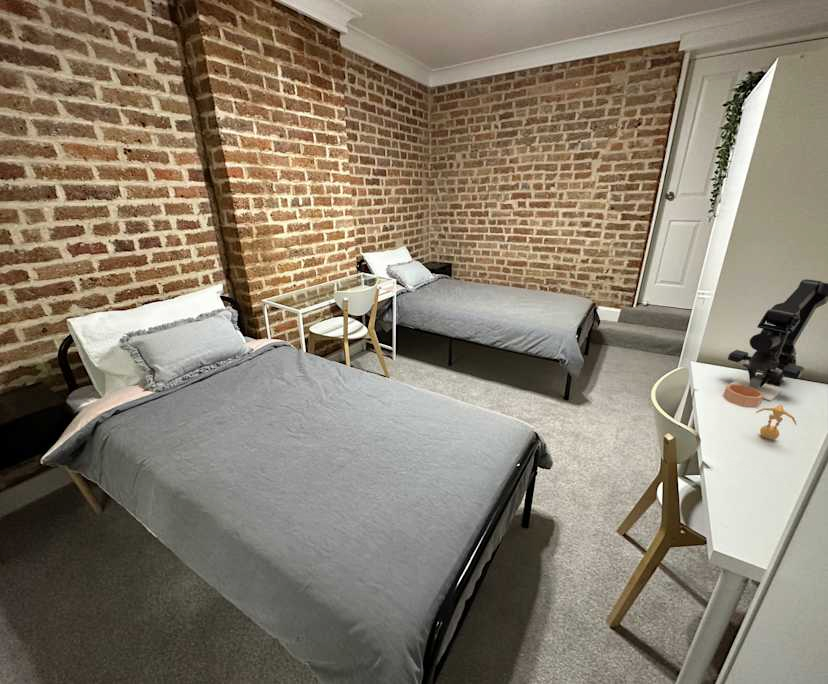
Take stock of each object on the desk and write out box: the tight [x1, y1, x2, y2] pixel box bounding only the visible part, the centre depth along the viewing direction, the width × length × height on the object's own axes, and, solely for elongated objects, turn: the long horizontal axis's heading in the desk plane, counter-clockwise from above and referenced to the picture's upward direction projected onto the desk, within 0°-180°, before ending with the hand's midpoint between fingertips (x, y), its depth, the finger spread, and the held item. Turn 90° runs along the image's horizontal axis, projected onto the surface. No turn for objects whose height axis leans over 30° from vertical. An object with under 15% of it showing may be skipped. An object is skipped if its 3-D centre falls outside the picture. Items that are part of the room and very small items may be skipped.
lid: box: [728, 373, 784, 402], centre depth 130 cm, size 12×12×5 cm
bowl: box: [722, 383, 764, 409], centre depth 124 cm, size 9×9×4 cm
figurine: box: [755, 404, 797, 440], centre depth 103 cm, size 8×6×12 cm
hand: (756, 385), depth 130 cm, fingers closed on lid, 2 cm apart
